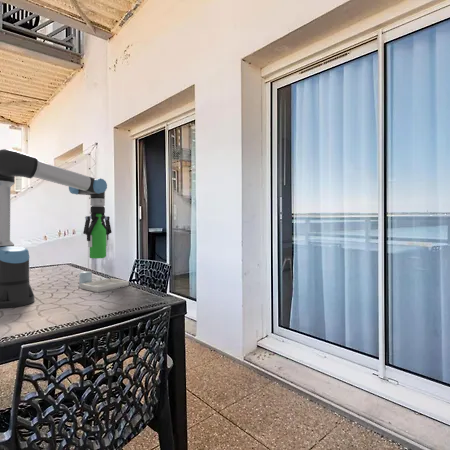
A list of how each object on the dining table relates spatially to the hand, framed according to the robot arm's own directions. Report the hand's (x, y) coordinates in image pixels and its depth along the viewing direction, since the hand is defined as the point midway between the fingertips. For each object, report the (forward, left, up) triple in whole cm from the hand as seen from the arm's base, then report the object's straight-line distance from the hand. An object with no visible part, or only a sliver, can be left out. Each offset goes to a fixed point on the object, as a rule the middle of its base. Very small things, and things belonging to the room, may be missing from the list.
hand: (97, 246), depth 183 cm
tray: (-8, -18, -20) cm, 28 cm away
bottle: (0, 0, -7) cm, 7 cm away
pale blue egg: (-11, -6, -20) cm, 23 cm away
